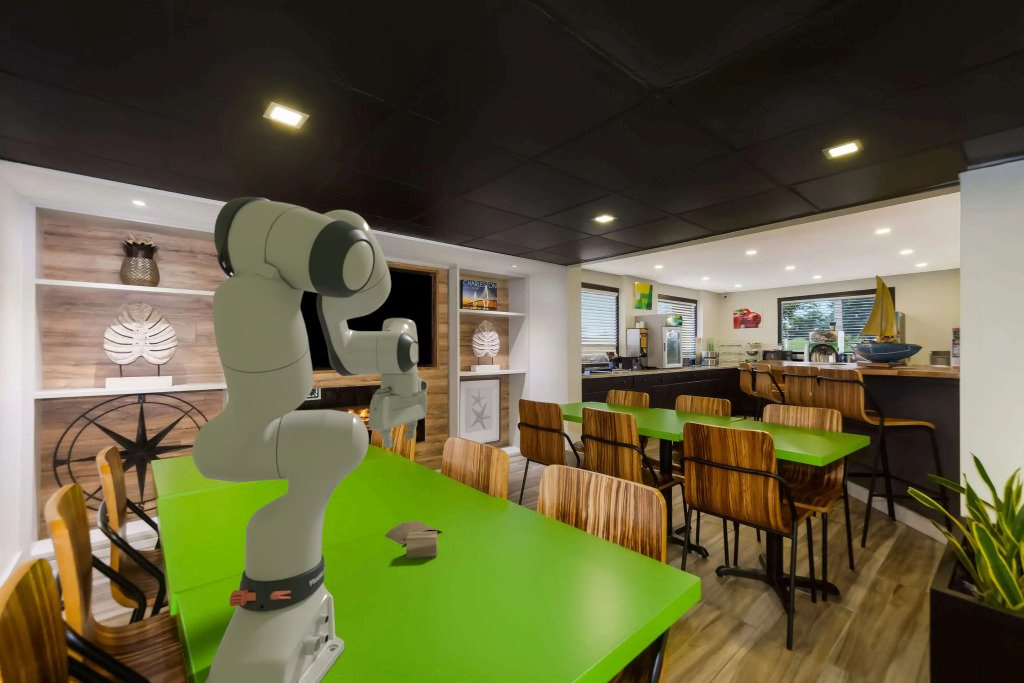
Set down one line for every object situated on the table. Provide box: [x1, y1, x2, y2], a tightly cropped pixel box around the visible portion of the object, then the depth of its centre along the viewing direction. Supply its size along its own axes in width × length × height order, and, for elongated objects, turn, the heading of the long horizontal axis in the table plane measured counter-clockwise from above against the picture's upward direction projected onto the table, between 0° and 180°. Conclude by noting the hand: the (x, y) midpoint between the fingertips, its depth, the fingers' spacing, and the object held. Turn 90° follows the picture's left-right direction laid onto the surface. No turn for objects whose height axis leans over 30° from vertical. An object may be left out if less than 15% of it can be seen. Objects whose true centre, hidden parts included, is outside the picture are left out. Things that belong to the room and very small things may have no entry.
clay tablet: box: [384, 520, 437, 547], centre depth 119 cm, size 14×10×3 cm
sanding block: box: [405, 530, 439, 559], centre depth 106 cm, size 4×7×5 cm, turn 95°
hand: (399, 443), depth 106 cm, fingers open, 8 cm apart
